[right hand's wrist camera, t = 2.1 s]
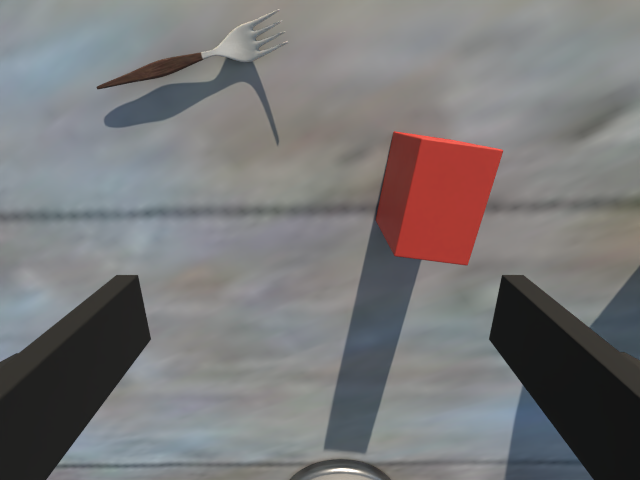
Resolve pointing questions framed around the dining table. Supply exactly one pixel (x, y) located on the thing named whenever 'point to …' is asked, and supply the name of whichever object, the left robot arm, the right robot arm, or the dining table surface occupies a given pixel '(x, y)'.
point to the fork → (208, 54)
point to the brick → (435, 196)
